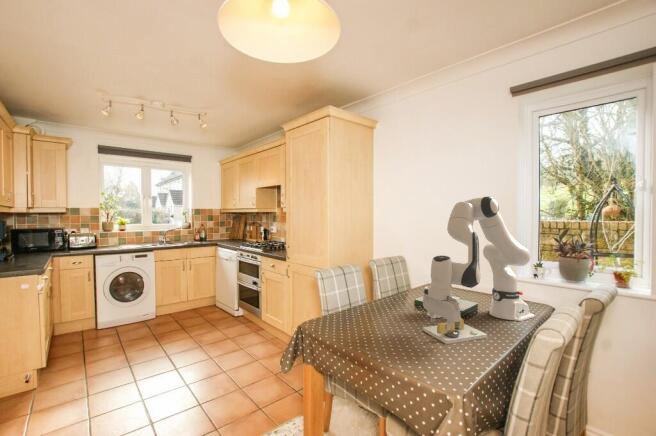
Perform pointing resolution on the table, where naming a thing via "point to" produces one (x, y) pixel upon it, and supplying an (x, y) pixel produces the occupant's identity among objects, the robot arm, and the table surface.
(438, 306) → the robot arm
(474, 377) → the table surface
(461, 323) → the knob
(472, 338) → the level plate
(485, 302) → the table surface
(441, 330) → the knob
